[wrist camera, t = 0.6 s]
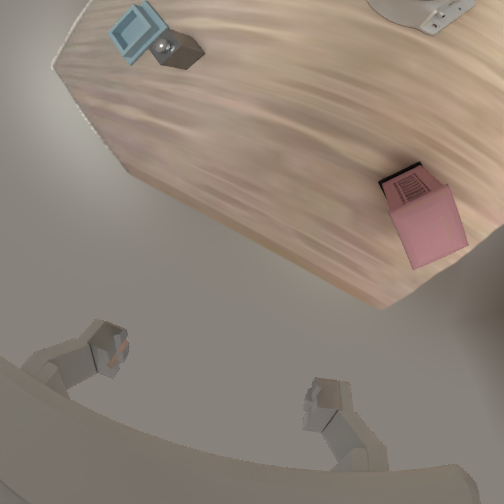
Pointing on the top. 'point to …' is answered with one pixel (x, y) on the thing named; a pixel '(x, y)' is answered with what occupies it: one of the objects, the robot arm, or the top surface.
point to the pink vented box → (423, 215)
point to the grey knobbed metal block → (176, 49)
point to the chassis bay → (136, 31)
